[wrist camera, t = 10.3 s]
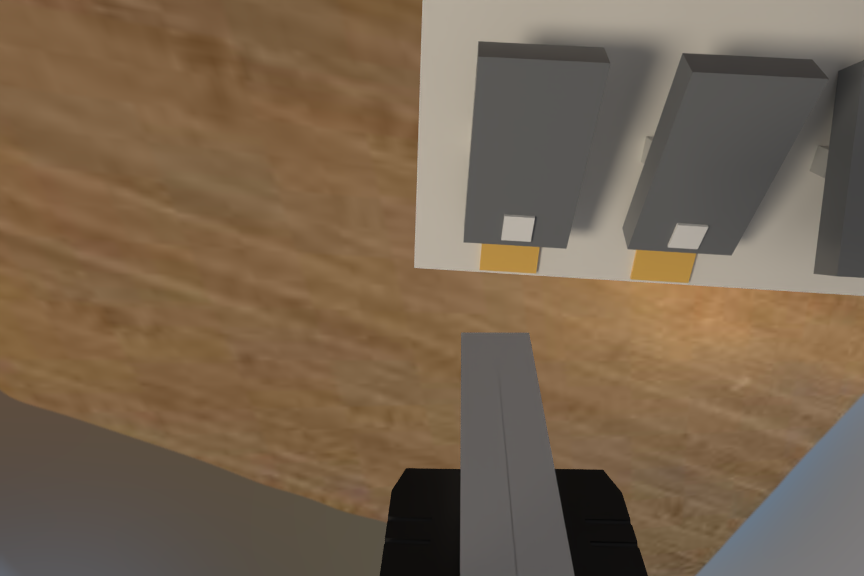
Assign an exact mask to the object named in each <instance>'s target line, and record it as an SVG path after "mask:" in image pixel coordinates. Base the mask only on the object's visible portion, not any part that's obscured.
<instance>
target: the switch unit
mask: <svg viewBox="0 0 864 576" xmlns="http://www.w3.org/2000/svg"><path fill="white" fill-rule="evenodd" d="M478 41H484V42H504V43H524V44H545V45H565V46H585V47H604V49H605V51H606V53H607V56H608V58H609V61H610V67H609V72H608V76H607V80H606V84H605V89H604V93H603V97H602V101H601V105H600V110H599V114H598V118H597V122H596V126H595V131H594V135H593V139H592V143H591V147H590V152H589V156H588V160H587V164H586V169H585V173H584V177H583V181H582V185H581V190H580V194H579V198H578V202H577V206H576V211H575V215H574V219H573V223H572V228H571V232H570V236H569V240H568V244H567V249H563V248H547V247H530V246H514V245H497V244H481V243H464V242H463V240H464V219H465V206H466V193H467V181H468V168H469V155H470V142H471V129H472V117H473V104H474V91H475V78H476V65H477V53H478ZM682 53H693V54H713V55H733V56H753V57H773V58H793V59H812V60H813V61H814V62H815V63H816V64H817V65H818V67H819V68H820V69H821V70H822V71H823V72H824V74H825V75H826V76H827V77H828V78H829V80H828V82H827V84H826V85H825V87H824V89H823V91H822V93H821V95H820V96H819V98H818V100H817V102H816V104H815V105H814V107H813V109H812V111H811V113H810V114H809V116H808V118H807V120H806V122H805V124H804V125H803V127H802V129H801V131H800V133H799V134H798V136H797V138H796V140H795V142H794V143H793V145H792V147H791V149H790V151H789V152H788V154H787V156H786V158H785V160H784V162H783V163H782V165H781V167H780V169H779V171H778V172H777V174H776V176H775V178H774V180H773V181H772V183H771V185H770V187H769V189H768V190H767V192H766V194H765V196H764V198H763V200H762V201H761V203H760V205H759V207H758V209H757V210H756V212H755V214H754V216H753V218H752V219H751V221H750V223H749V225H748V227H747V228H746V230H745V232H744V234H743V236H742V238H741V239H740V241H739V243H738V245H737V247H736V248H735V250H734V252H733V254H732V256H730V255H714V254H697V253H681V252H664V251H648V250H631V249H627V245H626V241H625V237H624V233H623V229H622V227H623V224H624V221H625V218H626V215H627V213H628V210H629V207H630V204H631V201H632V198H633V195H634V192H635V189H636V186H637V184H638V181H639V178H640V175H641V172H642V169H643V166H644V163H645V160H646V157H647V155H648V152H649V149H650V146H651V143H652V140H653V137H654V134H655V131H656V128H657V126H658V123H659V120H660V117H661V114H662V111H663V108H664V105H665V102H666V99H667V96H668V94H669V91H670V88H671V85H672V82H673V79H674V76H675V73H676V70H677V67H678V65H679V62H680V59H681V56H682ZM863 60H864V0H423V6H422V38H421V70H420V102H419V134H418V166H417V198H416V230H415V262H414V268H426V269H442V270H458V271H474V272H490V273H506V274H522V275H538V276H554V277H570V278H586V279H602V280H618V281H634V282H650V283H666V284H682V285H699V286H715V287H731V288H747V289H763V290H779V291H795V292H811V293H827V294H843V295H859V296H864V278H856V277H839V276H829V275H820V274H813V273H814V265H815V257H816V249H817V241H818V232H819V224H820V216H821V208H822V200H823V192H824V184H825V175H826V167H827V159H828V151H829V143H830V135H831V126H832V118H833V110H834V102H835V94H836V86H837V78H838V71H839V70H842V69H844V68H846V67H849V66H851V65H853V64H856V63H858V62H860V61H863Z"/></svg>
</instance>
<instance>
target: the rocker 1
mask: <svg viewBox="0 0 864 576" xmlns="http://www.w3.org/2000/svg"><path fill="white" fill-rule="evenodd" d="M609 67H610V61H609V58H608V56H607V53H606V51H605V49H604V47H585V46H565V45H545V44H524V43H504V42H484V41H478V53H477V65H476V78H475V91H474V104H473V117H472V129H471V142H470V155H469V168H468V181H467V193H466V206H465V219H464V240H463V242H464V243H481V244H497V245H514V246H530V247H547V248H563V249H567V244H568V240H569V236H570V232H571V228H572V223H573V219H574V215H575V211H576V206H577V202H578V198H579V194H580V190H581V185H582V181H583V177H584V173H585V169H586V164H587V160H588V156H589V152H590V147H591V143H592V139H593V135H594V131H595V126H596V122H597V118H598V114H599V110H600V105H601V101H602V97H603V93H604V89H605V84H606V80H607V76H608V72H609Z"/></svg>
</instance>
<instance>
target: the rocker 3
mask: <svg viewBox="0 0 864 576" xmlns="http://www.w3.org/2000/svg"><path fill="white" fill-rule="evenodd" d="M813 274H820V275H829V276H839V277H856V278H864V60H863V61H860V62H858V63H856V64H853V65H851V66H849V67H846V68H844V69H842V70H839V71H838V78H837V86H836V94H835V102H834V110H833V118H832V126H831V135H830V143H829V151H828V159H827V167H826V175H825V184H824V192H823V200H822V208H821V216H820V224H819V232H818V241H817V249H816V257H815V265H814V273H813Z"/></svg>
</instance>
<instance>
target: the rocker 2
mask: <svg viewBox="0 0 864 576" xmlns="http://www.w3.org/2000/svg"><path fill="white" fill-rule="evenodd" d="M828 80H829V78H828V77H827V76H826V75H825V74H824V72H823V71H822V70H821V69H820V68H819V67H818V65H817V64H816V63H815V62H814V61H813V60H812V59H793V58H773V57H753V56H733V55H713V54H693V53H682V56H681V59H680V62H679V65H678V67H677V70H676V73H675V76H674V79H673V82H672V85H671V88H670V91H669V94H668V96H667V99H666V102H665V105H664V108H663V111H662V114H661V117H660V120H659V123H658V126H657V128H656V131H655V134H654V137H653V140H652V143H651V146H650V149H649V152H648V155H647V157H646V160H645V163H644V166H643V169H642V172H641V175H640V178H639V181H638V184H637V186H636V189H635V192H634V195H633V198H632V201H631V204H630V207H629V210H628V213H627V215H626V218H625V221H624V224H623V227H622V229H623V233H624V237H625V241H626V245H627V249H631V250H648V251H664V252H681V253H697V254H714V255H730V256H732V254H733V252H734V250H735V248H736V247H737V245H738V243H739V241H740V239H741V238H742V236H743V234H744V232H745V230H746V228H747V227H748V225H749V223H750V221H751V219H752V218H753V216H754V214H755V212H756V210H757V209H758V207H759V205H760V203H761V201H762V200H763V198H764V196H765V194H766V192H767V190H768V189H769V187H770V185H771V183H772V181H773V180H774V178H775V176H776V174H777V172H778V171H779V169H780V167H781V165H782V163H783V162H784V160H785V158H786V156H787V154H788V152H789V151H790V149H791V147H792V145H793V143H794V142H795V140H796V138H797V136H798V134H799V133H800V131H801V129H802V127H803V125H804V124H805V122H806V120H807V118H808V116H809V114H810V113H811V111H812V109H813V107H814V105H815V104H816V102H817V100H818V98H819V96H820V95H821V93H822V91H823V89H824V87H825V85H826V84H827V82H828Z"/></svg>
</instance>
